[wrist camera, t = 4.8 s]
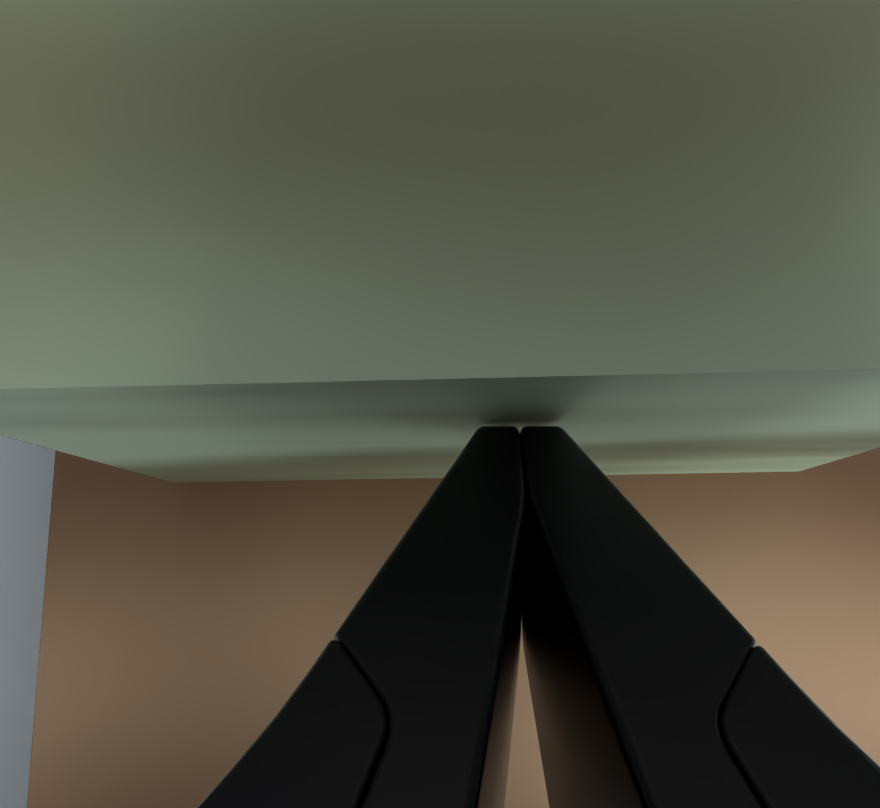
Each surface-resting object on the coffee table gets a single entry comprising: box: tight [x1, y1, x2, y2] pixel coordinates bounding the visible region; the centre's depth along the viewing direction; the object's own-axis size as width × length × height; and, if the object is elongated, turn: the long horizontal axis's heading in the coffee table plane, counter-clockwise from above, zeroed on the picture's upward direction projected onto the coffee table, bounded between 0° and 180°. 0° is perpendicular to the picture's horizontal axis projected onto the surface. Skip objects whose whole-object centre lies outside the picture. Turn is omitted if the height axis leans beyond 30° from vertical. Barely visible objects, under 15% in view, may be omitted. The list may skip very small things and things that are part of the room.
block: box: [0, 0, 880, 483], centre depth 10 cm, size 5×10×7 cm, turn 91°
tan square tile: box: [27, 448, 880, 808], centre depth 14 cm, size 12×14×2 cm
